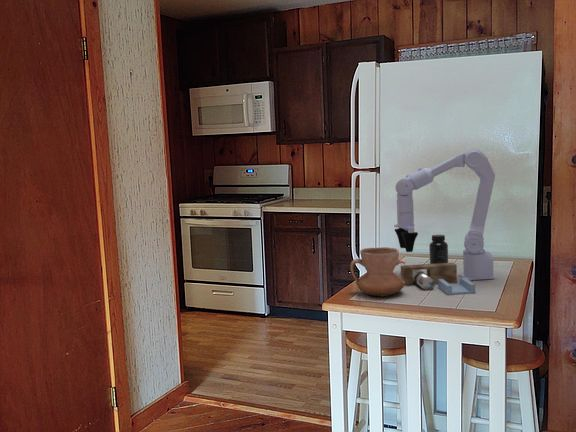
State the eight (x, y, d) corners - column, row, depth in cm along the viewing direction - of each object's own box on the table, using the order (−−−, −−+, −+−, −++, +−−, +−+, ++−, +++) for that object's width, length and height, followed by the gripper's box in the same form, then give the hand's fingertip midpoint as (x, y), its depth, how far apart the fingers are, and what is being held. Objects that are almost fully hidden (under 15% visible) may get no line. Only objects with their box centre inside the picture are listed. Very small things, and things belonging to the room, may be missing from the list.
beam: (452, 279, 189) (452, 262, 188) (456, 282, 185) (456, 264, 184) (401, 282, 188) (400, 265, 187) (404, 285, 184) (403, 268, 183)
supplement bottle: (450, 265, 211) (450, 234, 209) (445, 268, 205) (444, 237, 203) (433, 263, 214) (432, 233, 213) (427, 267, 209) (426, 236, 207)
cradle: (464, 285, 180) (464, 277, 179) (475, 293, 171) (475, 284, 171) (438, 287, 179) (438, 279, 179) (447, 294, 171) (447, 286, 170)
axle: (420, 278, 193) (420, 266, 193) (434, 290, 177) (434, 276, 177) (408, 279, 193) (407, 267, 193) (421, 291, 177) (420, 277, 177)
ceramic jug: (410, 288, 180) (409, 246, 179) (404, 300, 167) (402, 254, 165) (356, 286, 187) (355, 245, 185) (346, 298, 173) (344, 253, 171)
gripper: (389, 210, 202) (390, 246, 203) (399, 215, 187) (400, 254, 189) (408, 209, 202) (409, 245, 204) (419, 214, 188) (420, 253, 189)
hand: (406, 249), depth 196 cm, fingers open, 7 cm apart
